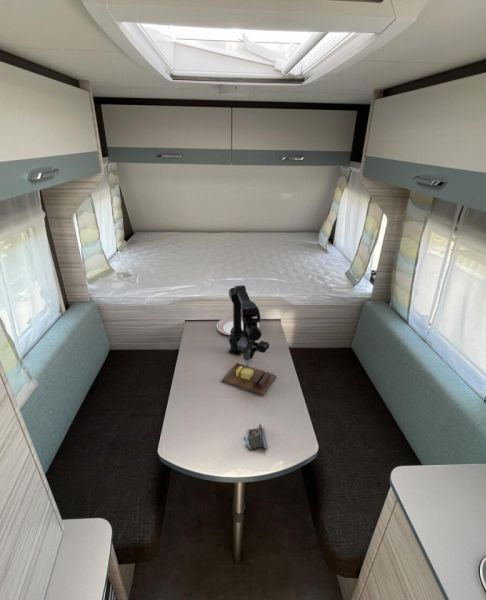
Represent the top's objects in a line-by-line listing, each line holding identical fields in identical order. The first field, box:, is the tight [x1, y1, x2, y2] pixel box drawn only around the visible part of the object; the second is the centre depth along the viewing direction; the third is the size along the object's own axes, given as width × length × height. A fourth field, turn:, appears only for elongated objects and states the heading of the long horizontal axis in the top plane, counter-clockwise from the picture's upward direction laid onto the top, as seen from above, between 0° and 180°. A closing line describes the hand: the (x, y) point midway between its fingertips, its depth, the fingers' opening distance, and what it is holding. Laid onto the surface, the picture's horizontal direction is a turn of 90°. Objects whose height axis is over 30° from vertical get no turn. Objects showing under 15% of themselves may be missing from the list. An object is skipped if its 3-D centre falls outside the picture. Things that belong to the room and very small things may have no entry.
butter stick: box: [241, 368, 254, 380], centre depth 163 cm, size 5×4×3 cm
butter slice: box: [236, 366, 243, 377], centre depth 165 cm, size 2×4×3 cm, turn 152°
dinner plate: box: [216, 315, 260, 336], centre depth 212 cm, size 27×27×3 cm
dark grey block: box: [242, 349, 253, 370], centre depth 159 cm, size 3×8×8 cm, turn 152°
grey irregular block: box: [244, 423, 267, 450], centre depth 127 cm, size 10×7×12 cm
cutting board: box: [221, 362, 276, 396], centre depth 163 cm, size 22×16×4 cm
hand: (248, 357), depth 159 cm, fingers closed on dark grey block, 3 cm apart
